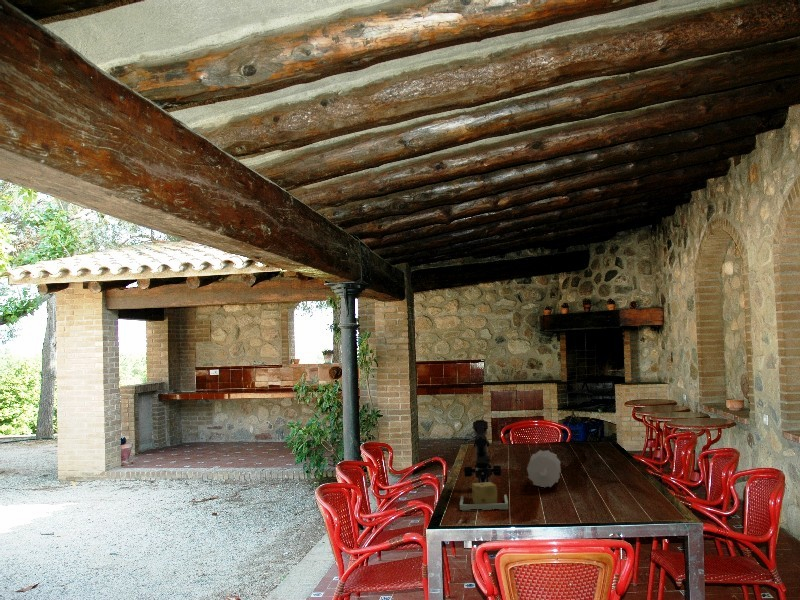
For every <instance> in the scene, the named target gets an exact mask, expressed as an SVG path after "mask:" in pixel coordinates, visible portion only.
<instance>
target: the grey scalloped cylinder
mask: <svg viewBox="0 0 800 600" xmlns="http://www.w3.org/2000/svg"><path fill="white" fill-rule="evenodd" d="M561 463H562V462H561V461H560V459H559V458H558V455H557V454H555V453H553V452H552V451H550V449H549V450H541V449H540V450H538V451H537V452H535V453H532V455H531V456H530V458H529V462H528V464H527V467H526V471H527V474H528V476H527V478H528V479H529V480H530V481H532V485H534V486H538V487H544V488H547V487H549V488H552V487H553V485H555V484H556V483H558V482H559V479H561V476H560V475H561V474H560V473H561V472H562V469H561Z"/></svg>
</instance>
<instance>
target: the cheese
mask: <svg viewBox="0 0 800 600" xmlns="http://www.w3.org/2000/svg"><path fill="white" fill-rule="evenodd" d="M471 491H472V493H471V495H472V504H473V503H474V504H496V503H498V488H497V485H496V484H495V483H493V482H492V481H489V482H484V483H478V482H472V483H471Z"/></svg>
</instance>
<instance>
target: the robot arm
mask: <svg viewBox="0 0 800 600" xmlns="http://www.w3.org/2000/svg"><path fill="white" fill-rule="evenodd" d="M488 425H489V423H488V421H486V420H485V419H477V420H475V421H473V422H472V430H474V435H475V436H474V440H473V448H475V453H476V455H475V456H476V458H475V459H476V460H475V464H474V468H472V467H473V466H472V465H469V466H468V465H467V466H464V467H463V472H464V474H463V475H464V477H465V478H467V477H472V476H473V474H474V475H475V478H477V481H478V482H477V483H484V482H490V478H491V476H495V477H496V476H497V477H499V476H502V466H501V464H496V465H495V464H494V465H492V466H491V464H490V463H491V455H488V447H490V446H491V445H490V444H491V443H490V441H489V439H488V438H487V437H488V436H487V434H488V430H489V426H488Z"/></svg>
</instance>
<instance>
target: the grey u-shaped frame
mask: <svg viewBox="0 0 800 600" xmlns="http://www.w3.org/2000/svg"><path fill="white" fill-rule="evenodd" d="M507 495H508V494H504V497H503V499H504V503H503V502H502V503H501V502H500V503H499V502H497V503H496V504H473V503H470V504H466V503H463V502H465V501H464V495H461V496H460V501H459V511H460V510H462V511H471V510H470V509H482V510H481V511H488V510H489V511H491V510H492V509H493V510H494V509H499V510H509V501H508V496H507Z"/></svg>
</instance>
